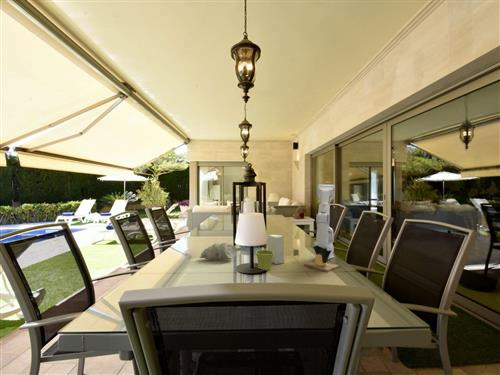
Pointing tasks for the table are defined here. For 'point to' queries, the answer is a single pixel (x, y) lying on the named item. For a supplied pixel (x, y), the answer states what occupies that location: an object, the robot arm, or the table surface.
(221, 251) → the seashell
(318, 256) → the cap
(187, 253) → the table surface
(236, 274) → the table surface
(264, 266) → the plant pot
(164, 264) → the table surface
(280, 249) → the skincare box
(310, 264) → the post board
